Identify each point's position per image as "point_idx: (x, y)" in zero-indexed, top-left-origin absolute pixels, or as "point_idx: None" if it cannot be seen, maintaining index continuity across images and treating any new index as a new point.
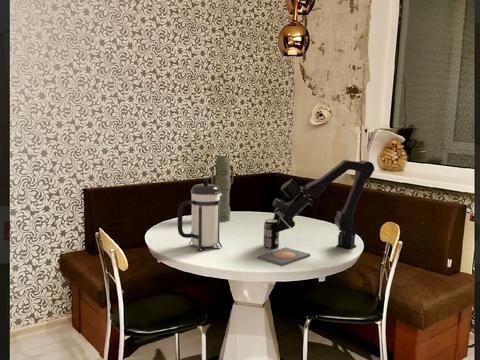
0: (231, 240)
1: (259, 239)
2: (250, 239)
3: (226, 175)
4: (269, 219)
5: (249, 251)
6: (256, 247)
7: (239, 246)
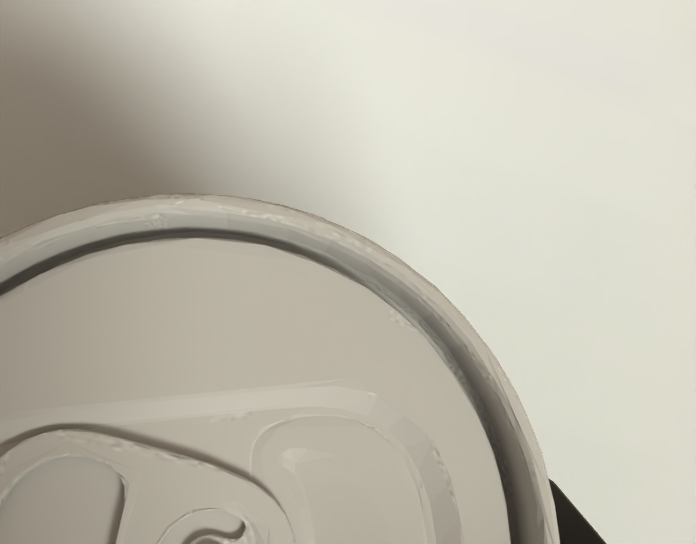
0: (650, 9)
1: (674, 392)
2: (681, 261)
3: None
4: (536, 533)
5: (96, 52)
6: None
7: (367, 10)
